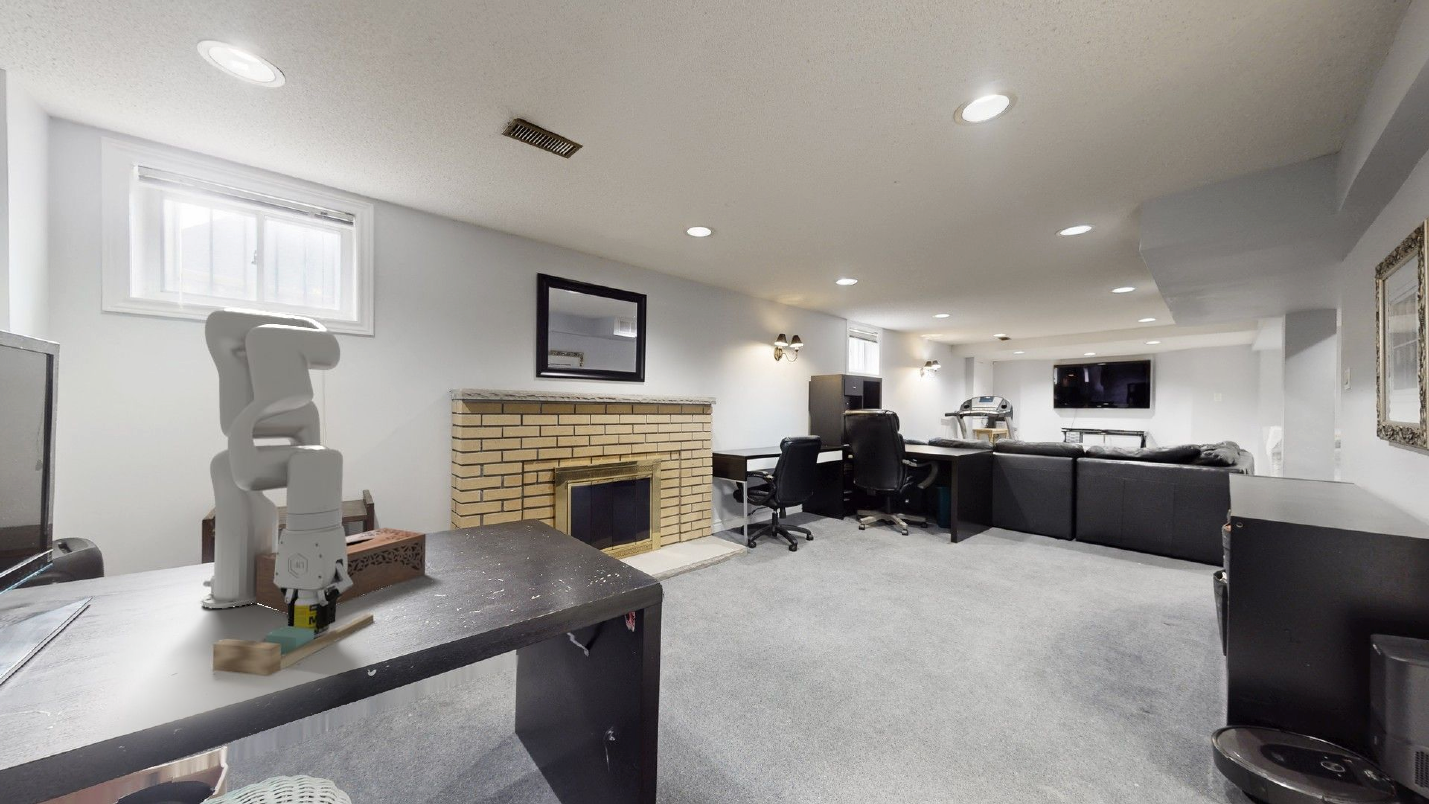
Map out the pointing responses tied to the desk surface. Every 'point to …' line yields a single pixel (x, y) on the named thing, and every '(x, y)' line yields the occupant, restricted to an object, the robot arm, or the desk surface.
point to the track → (273, 651)
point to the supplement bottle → (308, 611)
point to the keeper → (290, 638)
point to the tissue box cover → (358, 565)
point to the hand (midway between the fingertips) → (312, 623)
